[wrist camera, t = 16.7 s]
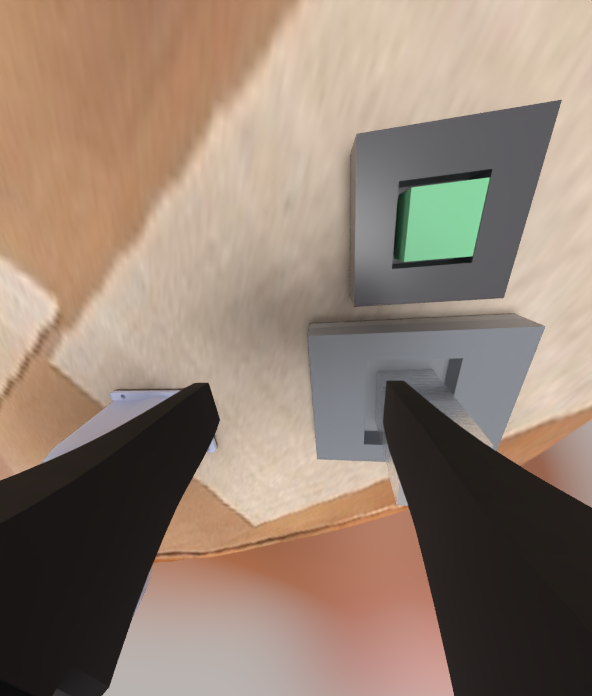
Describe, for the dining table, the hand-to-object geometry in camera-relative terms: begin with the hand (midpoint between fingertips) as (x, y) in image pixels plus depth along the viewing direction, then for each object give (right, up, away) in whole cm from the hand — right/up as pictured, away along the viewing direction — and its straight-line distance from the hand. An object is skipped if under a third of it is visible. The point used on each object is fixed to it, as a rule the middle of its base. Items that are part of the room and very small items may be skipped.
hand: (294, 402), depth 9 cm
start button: (+7, +9, +3) cm, 12 cm away
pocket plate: (+9, -1, +10) cm, 13 cm away
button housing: (+8, +10, +5) cm, 13 cm away
